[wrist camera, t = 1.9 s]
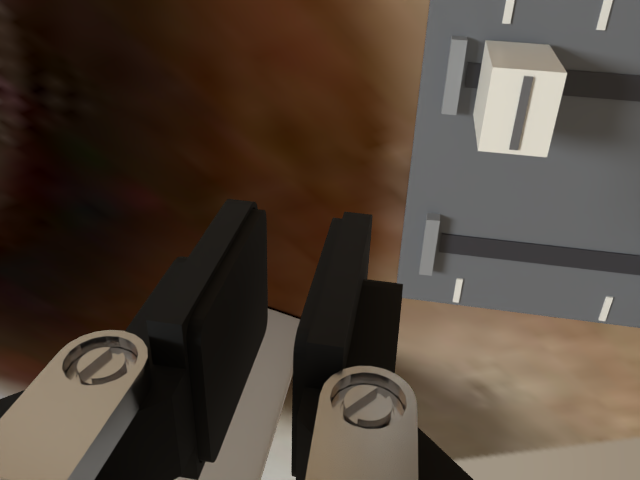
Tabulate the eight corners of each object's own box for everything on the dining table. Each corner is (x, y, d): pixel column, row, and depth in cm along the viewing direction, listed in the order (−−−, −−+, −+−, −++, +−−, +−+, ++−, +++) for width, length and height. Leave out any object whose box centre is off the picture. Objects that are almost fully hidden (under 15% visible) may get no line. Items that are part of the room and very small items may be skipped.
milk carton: (190, 279, 35) (-27, 625, 19) (309, 320, 35) (194, 701, 19) (172, 365, 39) (-23, 716, 22) (278, 402, 39) (161, 778, 22)
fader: (485, 40, 24) (493, 67, 20) (549, 44, 24) (568, 73, 20) (473, 114, 25) (477, 151, 22) (532, 119, 25) (547, 158, 22)
